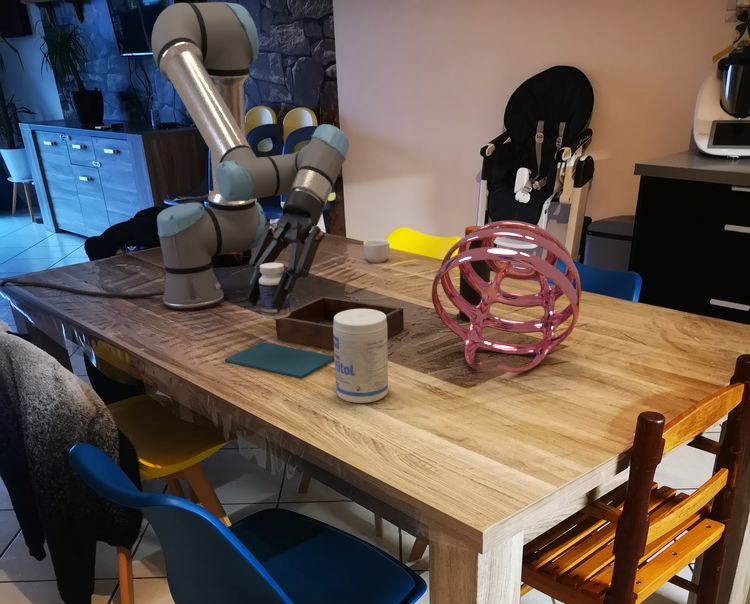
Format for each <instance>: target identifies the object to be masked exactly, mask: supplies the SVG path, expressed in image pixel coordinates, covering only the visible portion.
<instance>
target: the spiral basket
mask: <svg viewBox="0 0 750 604" xmlns="http://www.w3.org/2000/svg"><path fill="white" fill-rule="evenodd" d="M480 226H481V227H479V228H477V229H475V230H474V231H472V232H471V233H470V234H469V235H467V236H466V237H465V236H464V237H462V238H461V239H459V240H458V241H457V242H455V243H454V244H453V245H452V246H451V247H450V249H449V250H448V251H447V252H446V254H445V255H444V257H443V260H442V262H441V265H440V268H439V269H438V271H436V274H435V276H434V279H433V282H432V287H431V301H432V305H433V308H434V311H435V312H436V314H437V316H438V318H439V319H440V321H441V322H442V323H443V324H444V326H446V327H447V328H448V329H449V330H450V331H451V332H452V333H453V334H455V335H456V336H457V337H459V338H460V339H461V340H462V341H463V343H464V359H465V362H466V364H467V366H469V367H470V368H471V369H474V370H477V369H480V368H481V366H482V365H483V363H482V362H475V359H476V353H477V350H478V349H484V350H487V351H490V352H495V353H499V354H504V355H505V354H506V355H535V357H534V358H533V360H532V361H531V362H530V363H528V364H526V365H525V366H522V367H510V366H507V365H503V364H497V368H498V369H499V370H501V371H503V372H506V373H511V374H520V373H524V372H527V371H530V370H532V369H534V368H535V367H537V366H538V365H539V364H541V362H542V361H543V360H544V359H545V358H546V356H547V354H548V353H549V352H550V351H551V350H552V349H554V348H556V347H557V346H559V345H560V344H562V343H563V342H564V341H565V340H567V338H568V337H570V335H571V334H572V333H573V331H574V330H575V328H576V325H577V323H578V319H579V317H580V302H581V299H582V293H583V292H582V291H583V290H582V281H581V280H582V279H581V276H580V273H579V270H578V268H577V266H576V265H575V263H574V261H573V258H572V256H571V253H570V252H569V250H568V248H567V247H566V246H565V244H564V243H563V241H561V240H560V239H559V238H557V237H556V236H555V235H554V234H552V233H551V232H550V231H547V229H544V228H543V227H540V226H538V225H536V224H532V223H529V222H525V221H519V220H499V221H493V222H488V223H486V224H484V225H480ZM482 238H483V240H482V244H481V248H476V249H471V250H469V246H470V244H471V242H472V241H474V240H478V239H482ZM497 238H507V239H514V240H519V241H524V242H527V243H530V244H533V245H535V246H538V247H540V248H543V250H546V255H545V257H544V259H543V258H541V257H539V256H537V255H534V254H532V253H529V252H527V251H523V250H519V249H515V248H509V247H500V246H495V242H496V239H497ZM457 250H458V251H457ZM456 251H457V254H454V253H456ZM453 254H454V255H453ZM452 255H453V256H452ZM558 259H559V260H560V261H561V262H562V263H563V264H564V265H565V267H566V268H565V271H564V273H563V272H562V271H560V269H558V268H557V267H556V265H557V264H558ZM477 260H485V262H486V263H487V264H488V265H489V266H490V269H492V270H493V271H494V273H495V275H494V277H493V279H492V280H491V281H490V283H487V282H485V281H484V280H482V279H481V278H480V277H479V276H478V275H477V274H476V272H475V271H474V270H473V268H472V266H471V264H470V262H471V261H477ZM512 263H513V264H516V265H520V266H523V267H519V266H514V265H512ZM456 267H458V270H459V273H460V272H461V274H462V276H463V278H464V279H465V281H466V282H467V283H468V284H469V285H470V286H471V287H472V288H473V289H474V290H475V291H477V292H478V293H479V294H480V295H481V302H480V304H479V305H478V306H473V305H471V304H470V303H468V302H467V301H466V300H465V299H464V298H463V297H462V296H461V295H460V294H459V291H458V290H457V289H456V287H455V286H454V284H453V282H452V279H451V277H450V272H449V271H451V270H452V269H454V268H456ZM504 279H512V280H516V281H534V280H535V281H537V282H539V286H540V291H539V292H536V293H529V294H528V293H527V294H525V293H524V294H523V293H514V292H508V291H505V290H503V289H502V288H501V284H502V282H503V280H504ZM548 279H549V280H550V281H552V282H553V283H554V284H555V285H554V286H551V285H550V284H549V281H548ZM574 281H575V287H574V286H573V282H574ZM439 283H441V287H442V289H443V292H444V294H445V297H447V299H448V300H449V301H450V303H451V304H452V305H453V306H454V307H455V308H456V309H457V310H458V312H459V311H461V312H462V313H463V314H465V315H466V316H467V317H468V318H469V319H470V321H469V322H470V324H469V326H468V327H463V326H462V325H461V324H460V323H458V322H457V321H456V320H455V319H453V317H451V315H450V314H448V312H447V311H446V309H445V308H444V307H443V305H442V303H441V301H440V299H439V295H438V285H439ZM564 295H565V296H566V298H567V300H568V302H569V304H568V305H567V306H566V307H565V308H563V310H561V311H559V312H556V308H555V307H556V306H555V305H556V302H557V300H559V299H560V298H561V297H563V296H564ZM493 304H501V305H505V306H509V307H513V308H535V307H542V308H543V311H544V313H543V317H542V318H540V319H536V320H513V319H507V318H502V317H498V316H495V315H493V314H492V313H491V312H490V311H491V307H492V305H493ZM571 317H572V319H571V322H570V324H569V325H568V327H567V328H566V329H565V330H563V332H561V333H559V334H558V335H556V334H555V333H556V330H557V328H559V326H561V325H562V324H564V323H565V322H567V320H569V319H570V318H571ZM485 328H489V329H494V330H496V331H497V330H498V331H501V332H506V333H515V334H530V333H531V334H533V333H542V338H541V340H539V341H537V342H534V343H527V344H525V343H523V344H515V343H506V342H501V341H500V342H499V341H496V340H493V339H492V340H491V339H488V338H487V337H484V336H483V334H482V331H483V329H485Z"/></svg>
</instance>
